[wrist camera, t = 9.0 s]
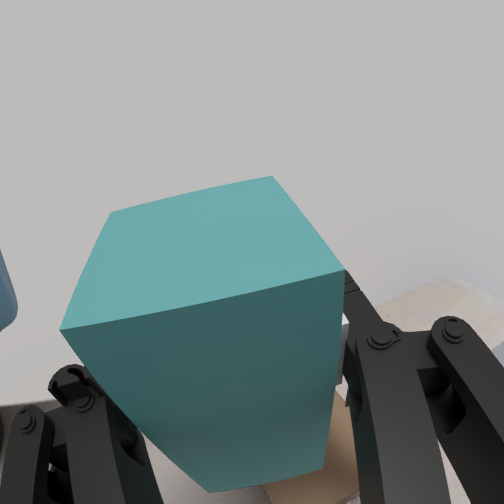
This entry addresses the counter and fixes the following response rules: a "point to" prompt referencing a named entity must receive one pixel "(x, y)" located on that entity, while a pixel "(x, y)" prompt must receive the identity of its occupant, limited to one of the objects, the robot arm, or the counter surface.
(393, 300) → the counter surface
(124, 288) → the teal pillar
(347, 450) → the walnut block
